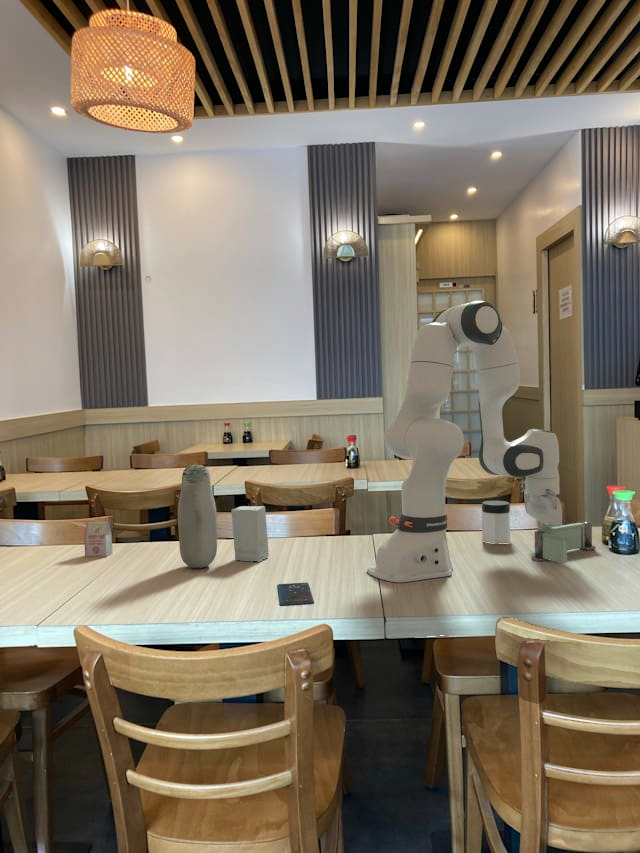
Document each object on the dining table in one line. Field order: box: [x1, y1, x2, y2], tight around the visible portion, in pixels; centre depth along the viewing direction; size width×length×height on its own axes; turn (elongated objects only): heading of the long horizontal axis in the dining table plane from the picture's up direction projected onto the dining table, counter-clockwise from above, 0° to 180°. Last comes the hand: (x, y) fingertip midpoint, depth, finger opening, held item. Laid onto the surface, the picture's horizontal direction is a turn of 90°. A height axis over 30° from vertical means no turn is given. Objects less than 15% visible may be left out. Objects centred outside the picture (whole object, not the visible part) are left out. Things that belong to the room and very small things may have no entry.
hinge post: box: [580, 521, 596, 551], centre depth 176 cm, size 4×4×8 cm
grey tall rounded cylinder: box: [177, 463, 218, 569], centre depth 167 cm, size 10×10×28 cm
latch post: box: [530, 530, 549, 563], centre depth 166 cm, size 6×5×8 cm
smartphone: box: [277, 582, 315, 607], centre depth 142 cm, size 8×1×15 cm
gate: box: [537, 522, 585, 551], centre depth 171 cm, size 16×2×7 cm, turn 116°
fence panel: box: [542, 532, 568, 564], centre depth 162 cm, size 2×6×7 cm, turn 31°
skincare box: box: [231, 505, 270, 563], centre depth 174 cm, size 8×6×15 cm
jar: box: [481, 500, 511, 544], centre depth 187 cm, size 9×8×12 cm
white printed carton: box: [83, 521, 113, 558], centre depth 184 cm, size 4×7×10 cm, turn 82°
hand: (543, 536), depth 172 cm, fingers closed
